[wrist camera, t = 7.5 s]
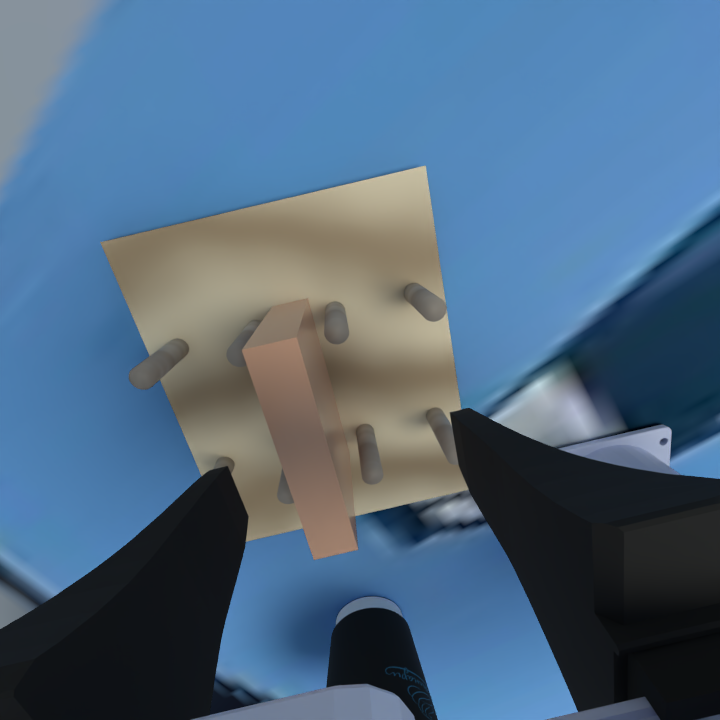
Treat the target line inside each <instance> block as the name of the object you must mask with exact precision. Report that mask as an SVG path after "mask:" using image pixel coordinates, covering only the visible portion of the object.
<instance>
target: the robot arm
mask: <svg viewBox="0 0 720 720" xmlns="http://www.w3.org/2000/svg"><path fill="white" fill-rule="evenodd" d="M450 418H451V424H452V429H453V435H454V441H455V447H456V453H457V459H458V465H459V468H460V470H461V473H462V475H463V478H464V480H465V482H466V484H467V487H468V489H469V491H470V493H471V495H472V497H473V499H474V500H475V502H476V504H477V505H478V507H479V509H480V511H481V512H482V514H483V516H484V517H485V519H486V521H487V522H488V524H489V526H490V527H491V529H492V531H493V532H494V534H495V536H496V537H497V539H498V541H499V542H500V544H501V546H502V547H503V549H504V551H505V552H506V554H507V556H508V558H509V560H510V562H511V564H512V565H513V567H514V569H515V571H516V573H517V576H518V578H519V580H520V582H521V584H522V586H523V588H524V590H525V593H526V595H527V597H528V599H529V601H530V603H531V605H532V608H533V610H534V612H535V614H536V616H537V619H538V621H539V623H540V625H541V628H542V630H543V632H544V634H545V636H546V639H547V641H548V643H549V645H550V648H551V650H552V652H553V654H554V657H555V659H556V661H557V664H558V666H559V668H560V670H561V673H562V675H563V677H564V680H565V682H566V684H567V686H568V689H569V691H570V694H571V696H572V698H573V701H574V703H575V705H576V708H577V710H578V712H577V713H572V714H568V715H564V716H559V717H555V718H551V719H547V720H720V479H714V478H704V477H695V476H685V475H680V474H679V473H678V472H676V471H675V470H673V469H672V468H670V467H669V464H670V448H671V433H672V432H671V429H670V428H669V427H667V426H665V425H657V426H653V427H649V428H644V429H640V430H636V431H631V432H627V433H623V434H619V435H614V436H610V437H606V438H601V439H597V440H593V441H589V442H584V443H580V444H576V445H571V446H567V447H563V448H559V449H557V448H554V447H551V446H548V445H546V444H543V443H541V442H538V441H536V440H533V439H531V438H529V437H526V436H524V435H522V434H519V433H517V432H515V431H513V430H511V429H509V428H507V427H505V426H503V425H501V424H499V423H497V422H495V421H493V420H491V419H489V418H487V417H485V416H484V415H482V414H480V413H478V412H476V411H474V410H472V409H470V408H466V409H462V410H458V411H453V412H450ZM661 439H662V440H661ZM660 440H661V441H660ZM248 519H249V516H248V514H247V511H246V509H245V506H244V504H243V501H242V499H241V497H240V494H239V492H238V489H237V487H236V484H235V482H234V480H233V477H232V475H231V472H230V470H229V467H228V466H225V467H221V468H217V469H213V470H209V471H208V472H206V473H205V474H204V475H203V476H201V477H200V478H199V479H198V480H197V481H196V482H195V483H194V484H192V485H191V486H190V487H189V488H188V489H187V490H186V491H185V492H184V493H183V494H182V495H181V496H180V497H179V498H178V499H176V500H175V501H174V502H173V503H172V504H171V505H170V506H169V507H168V508H167V509H166V510H165V511H164V512H163V513H162V514H160V515H159V516H158V517H157V518H156V519H155V520H154V521H153V522H151V523H150V524H149V525H148V526H147V527H146V528H145V529H143V530H142V531H141V532H140V533H139V534H138V535H137V536H136V537H134V538H133V539H132V540H131V541H130V542H128V543H127V544H126V545H125V546H124V547H122V548H121V549H120V550H119V551H117V552H116V553H115V554H113V555H112V556H111V557H110V558H108V559H107V560H106V561H104V562H103V563H102V564H100V565H99V566H98V567H96V568H95V569H94V570H92V571H91V572H90V573H88V574H87V575H85V576H84V577H82V578H81V579H79V580H78V581H76V582H75V583H73V584H72V585H70V586H69V587H67V588H66V589H65V590H63V591H62V592H60V593H59V594H57V595H56V596H54V597H53V598H51V599H50V600H48V601H46V602H45V603H43V604H42V605H40V606H38V607H37V608H35V609H34V610H32V611H30V612H29V613H27V614H25V615H24V616H22V617H21V618H19V619H17V620H15V621H14V622H12V623H10V624H9V625H7V626H5V627H3V628H2V629H0V720H415V718H414V715H413V714H412V713H411V711H410V710H409V709H408V708H407V706H406V705H405V704H404V703H403V701H402V700H401V699H400V698H399V697H398V696H397V695H395V694H394V693H392V692H389V691H386V690H383V689H380V688H377V687H375V686H372V685H369V684H356V685H338V686H332V687H327V688H323V689H319V690H315V691H310V692H306V693H302V694H298V695H293V696H289V697H285V698H281V699H276V700H272V701H268V702H264V703H259V704H255V705H251V706H247V707H243V708H239V709H234V710H230V711H225V712H222V713H217V714H213V715H210V708H211V701H212V694H213V687H214V680H215V674H216V668H217V662H218V656H219V650H220V644H221V638H222V633H223V629H224V625H225V620H226V616H227V613H228V609H229V605H230V602H231V598H232V594H233V591H234V587H235V583H236V580H237V576H238V572H239V568H240V565H241V561H242V557H243V553H244V549H245V543H246V536H247V528H248Z"/></svg>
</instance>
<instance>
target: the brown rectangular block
mask: <svg viewBox="0 0 720 720" xmlns="http://www.w3.org/2000/svg"><path fill="white" fill-rule="evenodd" d="M242 353H243V356H244V358H245V361H246V364H247V367H248V370H249V373H250V376H251V379H252V382H253V385H254V387H255V390H256V393H257V396H258V399H259V402H260V405H261V408H262V411H263V414H264V416H265V419H266V422H267V425H268V428H269V431H270V434H271V437H272V440H273V442H274V445H275V448H276V451H277V454H278V457H279V460H280V463H281V466H282V469H283V471H284V474H285V477H286V480H287V483H288V486H289V489H290V492H291V495H292V498H293V500H294V503H295V506H296V509H297V512H298V515H299V518H300V521H301V524H302V527H303V529H304V532H305V535H306V538H307V541H308V544H309V547H310V550H311V553H312V556H313V558H314V560H316V559H320V558H325V557H329V556H333V555H338V554H342V553H346V552H350V551H355V550H358V542H357V531H356V519H355V508H354V497H353V485H352V474H351V463H350V452H349V448H348V444H347V441H346V437H345V433H344V430H343V426H342V422H341V418H340V415H339V411H338V407H337V404H336V400H335V396H334V392H333V389H332V385H331V381H330V378H329V374H328V370H327V366H326V363H325V359H324V355H323V352H322V348H321V344H320V340H319V337H318V333H317V329H316V326H315V322H314V318H313V314H312V311H311V307H310V303H309V300H308V298H306V299H302V300H298V301H293V302H289V303H285V304H281V305H276V306H272V307H271V309H270V310H269V312H268V313H267V315H266V316H265V317H264V319H263V320H262V322H261V323H260V325H259V326H258V327H257V329H256V330H255V332H254V333H253V335H252V336H251V337H250V339H249V340H248V342H247V343H246V345H245V346H244V347H243V349H242Z"/></svg>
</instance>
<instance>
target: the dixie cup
mask: <svg viewBox="0 0 720 720" xmlns="http://www.w3.org/2000/svg"><path fill="white" fill-rule="evenodd" d="M356 684H369V685H372V686H375V687H377V688H380V689H383V690H386V691H389V692H392V693H394V694H395V695H397V696H398V697H399V698H400V699H401V700H402V701H403V703H404V704H405V705H406V706H407V708H408V709H409V710H410V711H411V713H412V714H413V715H414V718H415V720H438V719H437V716H436V712H435V709H434V706H433V703H432V700H431V696H430V693H429V690H428V687H427V683H426V680H425V677H424V674H423V671H422V667H421V664H420V661H419V658H418V654H417V651H416V648H415V645H414V642H413V638H412V635H411V632H410V629H409V626H408V624H407V622H406V620H405V619H404V618H403V616H402V613H401V611H400V609H399V607H398V606H397V605H396V604H395V603H393V602H392V601H390V600H388V599H385V598H382V597H363V598H359V599H356V600H354V601H352V602H350V603H348V604H347V605H346V606H345V607H343V608H342V610H341V611H340V612H339V614H338V616H337V619H336V626H335V628H334V630H333V633H332V637H331V647H330V657H329V667H328V677H327V687H332V686H338V685H356ZM327 687H326V688H327Z"/></svg>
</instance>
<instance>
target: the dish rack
mask: <svg viewBox="0 0 720 720" xmlns="http://www.w3.org/2000/svg"><path fill="white" fill-rule="evenodd" d="M100 243H101V245H102V247H103V249H104V252H105V254H106V256H107V259H108V261H109V263H110V266H111V268H112V270H113V272H114V275H115V277H116V279H117V282H118V284H119V286H120V289H121V291H122V293H123V296H124V298H125V300H126V302H127V305H128V307H129V309H130V312H131V314H132V316H133V319H134V321H135V323H136V326H137V328H138V330H139V332H140V335H141V337H142V339H143V342H144V344H145V346H146V349H147V351H148V353H149V357H148V358H147V359H145V360H144V361H142V362H141V363H140V364H138V365H137V366H136V367H134V368H133V369H132V370H131V371H130V373H129V380H130V382H131V384H132V385H133V386H134V387H136V388H138V389H142V390H146V389H149V388H151V387H152V386H153V385H154V384H155V383H157V382H158V381H159V380H160V381H161V383H162V386H163V388H164V390H165V392H166V395H167V397H168V399H169V402H170V404H171V406H172V409H173V411H174V413H175V416H176V418H177V420H178V422H179V425H180V427H181V429H182V432H183V434H184V436H185V439H186V441H187V443H188V446H189V448H190V450H191V452H192V455H193V457H194V459H195V462H196V464H197V466H198V469H199V471H200V473H201V475H202V476H203V475H204V474H205V473H206V472H208V471H209V470H213V469H217V468H221V467H225V466H228V467H229V470H230V472H231V475H232V477H233V480H234V482H235V484H236V487H237V489H238V492H239V494H240V497H241V499H242V501H243V504H244V506H245V509H246V511H247V514H248V516H249V519H248V528H247V536H246V542H247V541H251V540H255V539H259V538H264V537H268V536H272V535H277V534H281V533H285V532H289V531H294V530H298V529H302V528H303V527H302V524H301V521H300V518H299V515H298V512H297V509H296V506H295V503H294V500H293V498H292V495H291V492H290V489H289V486H288V483H287V480H286V477H285V474H284V471H283V469H282V466H281V463H280V460H279V457H278V454H277V451H276V448H275V445H274V442H273V440H272V437H271V434H270V431H269V428H268V425H267V422H266V419H265V416H264V414H263V411H262V408H261V405H260V402H259V399H258V396H257V393H256V390H255V387H254V385H253V382H252V379H251V376H250V373H249V370H248V367H247V364H246V361H245V358H244V356H243V353H242V349H243V347H244V346H245V345H246V343H247V342H248V340H249V339H250V337H251V336H252V335H253V333H254V332H255V330H256V329H257V327H258V326H259V325H260V323H261V322H262V320H263V319H264V317H265V316H266V315H267V313H268V312H269V310H270V309H271V307H272V306H276V305H281V304H285V303H289V302H293V301H298V300H302V299H306V298H308V300H309V303H310V307H311V311H312V314H313V318H314V322H315V326H316V329H317V333H318V337H319V340H320V344H321V348H322V352H323V355H324V359H325V363H326V366H327V370H328V374H329V378H330V381H331V385H332V389H333V392H334V396H335V400H336V404H337V407H338V411H339V415H340V418H341V422H342V426H343V430H344V433H345V437H346V441H347V444H348V448H349V452H350V463H351V474H352V485H353V497H354V508H355V516H358V515H362V514H367V513H371V512H375V511H379V510H384V509H388V508H392V507H397V506H401V505H405V504H409V503H414V502H418V501H422V500H427V499H431V498H435V497H439V496H444V495H448V494H452V493H457V492H461V491H465V490H469V489H468V487H467V484H466V482H465V480H464V478H463V475H462V473H461V470H460V468H459V465H458V459H457V453H456V447H455V441H454V435H453V429H452V424H451V418H450V412H453V411H458V410H461V404H460V398H459V391H458V384H457V377H456V370H455V363H454V357H453V350H452V343H451V336H450V329H449V322H448V316H447V307H446V302H445V295H444V288H443V281H442V275H441V268H440V261H439V254H438V247H437V240H436V234H435V227H434V220H433V213H432V206H431V199H430V193H429V186H428V179H427V172H426V166H422V167H418V168H414V169H409V170H405V171H401V172H397V173H392V174H388V175H384V176H380V177H375V178H371V179H367V180H363V181H358V182H354V183H350V184H346V185H342V186H337V187H333V188H329V189H325V190H320V191H316V192H312V193H308V194H303V195H299V196H295V197H291V198H286V199H282V200H278V201H274V202H269V203H265V204H261V205H257V206H252V207H248V208H244V209H240V210H236V211H231V212H227V213H223V214H219V215H214V216H210V217H206V218H202V219H197V220H193V221H189V222H185V223H180V224H176V225H172V226H168V227H163V228H159V229H155V230H151V231H146V232H142V233H138V234H134V235H130V236H125V237H121V238H117V239H113V240H108V241H104V242H100Z"/></svg>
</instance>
